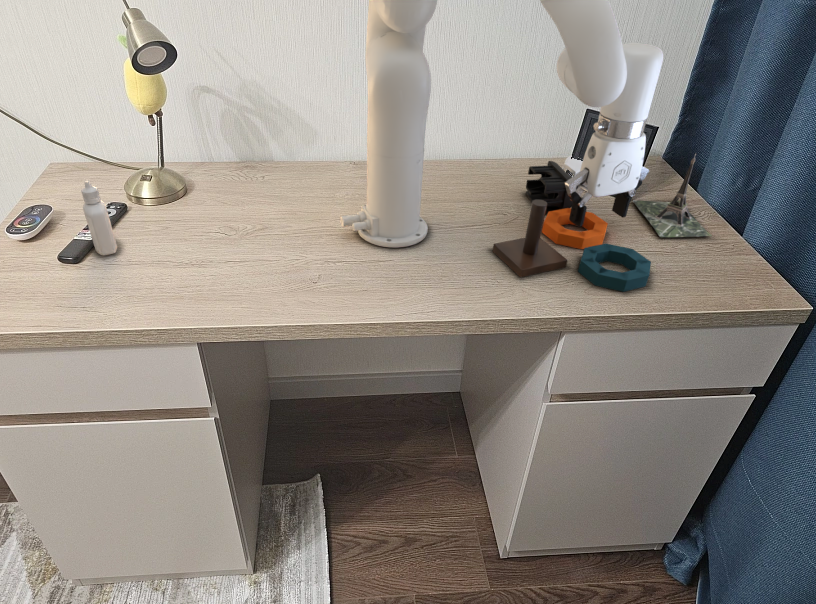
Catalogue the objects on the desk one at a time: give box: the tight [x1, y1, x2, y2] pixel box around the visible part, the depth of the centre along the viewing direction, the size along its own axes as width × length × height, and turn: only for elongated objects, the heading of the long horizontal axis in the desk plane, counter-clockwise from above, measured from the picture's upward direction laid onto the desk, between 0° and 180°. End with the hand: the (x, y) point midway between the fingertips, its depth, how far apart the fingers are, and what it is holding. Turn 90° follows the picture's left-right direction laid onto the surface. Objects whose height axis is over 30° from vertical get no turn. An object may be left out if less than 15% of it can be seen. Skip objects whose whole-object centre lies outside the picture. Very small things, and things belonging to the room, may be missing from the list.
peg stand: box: [492, 200, 568, 278], centre depth 101 cm, size 9×9×10 cm
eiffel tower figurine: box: [631, 153, 713, 238], centre depth 114 cm, size 15×10×13 cm
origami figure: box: [561, 153, 583, 176], centre depth 128 cm, size 12×8×5 cm
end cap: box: [524, 160, 578, 215], centre depth 120 cm, size 10×7×7 cm
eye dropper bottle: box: [81, 180, 118, 256], centre depth 100 cm, size 4×6×12 cm
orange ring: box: [541, 207, 609, 250], centre depth 112 cm, size 11×11×2 cm
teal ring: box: [577, 243, 652, 293], centre depth 101 cm, size 11×11×2 cm
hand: (597, 218), depth 112 cm, fingers open, 9 cm apart
